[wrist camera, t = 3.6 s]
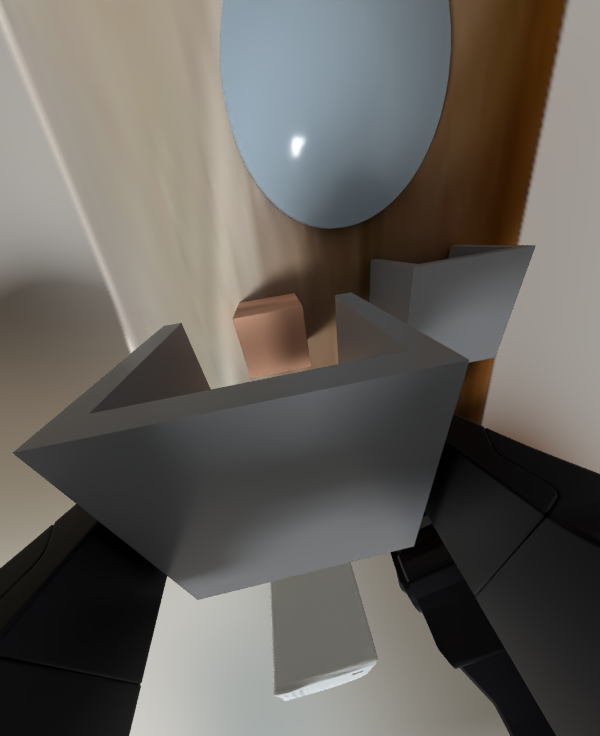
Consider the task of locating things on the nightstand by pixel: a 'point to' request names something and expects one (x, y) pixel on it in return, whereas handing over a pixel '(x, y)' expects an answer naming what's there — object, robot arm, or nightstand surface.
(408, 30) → the dish
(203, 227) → the nightstand surface
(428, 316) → the empty hood
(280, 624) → the skincare box
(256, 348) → the block
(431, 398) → the covering hood
